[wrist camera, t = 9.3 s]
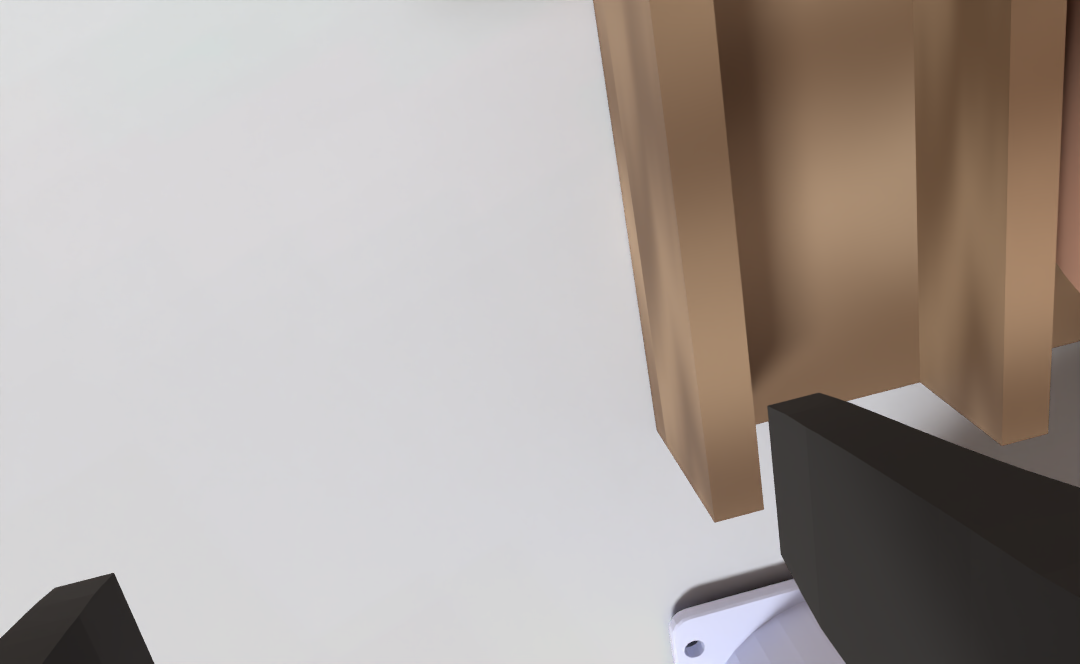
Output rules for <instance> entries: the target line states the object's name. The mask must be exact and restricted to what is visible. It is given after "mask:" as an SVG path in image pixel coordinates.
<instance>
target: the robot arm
mask: <svg viewBox="0 0 1080 664" xmlns="http://www.w3.org/2000/svg"><path fill="white" fill-rule="evenodd" d="M767 409H768V420H769V431H770V441H771V452H772V463H773V474H774V484H775V495H776V506H777V517H778V527H779V538H780V549H781V555H782V557H783V559H784V561H785V563H786V565H787V567H788V569H789V571H790V572H791V574H792V576H793V578H794V579H791V580H787V581H784V582H780V583H777V584H773V585H769V586H766V587H762V588H758V589H755V590H751V591H747V592H744V593H740V594H737V595H733V596H729V597H726V598H722V599H718V600H715V601H711V602H707V603H704V604H700V605H697V606H693V607H689V608H686V609H683V610H681V611H679V612H678V613H676V614H675V615H674V616H673V617H672V619H671V621H670V623H669V635H670V641H671V648H672V654H673V660H674V664H1080V488H1079V487H1076V486H1072V485H1069V484H1066V483H1063V482H1060V481H1057V480H1054V479H1051V478H1048V477H1045V476H1042V475H1039V474H1036V473H1033V472H1030V471H1027V470H1024V469H1021V468H1018V467H1015V466H1012V465H1010V464H1007V463H1004V462H1001V461H998V460H996V459H993V458H990V457H987V456H985V455H982V454H979V453H977V452H974V451H971V450H969V449H966V448H963V447H961V446H958V445H956V444H953V443H950V442H948V441H945V440H943V439H940V438H937V437H935V436H932V435H930V434H927V433H925V432H922V431H920V430H917V429H915V428H912V427H910V426H907V425H905V424H902V423H900V422H897V421H895V420H892V419H890V418H887V417H885V416H882V415H880V414H877V413H875V412H872V411H870V410H867V409H864V408H862V407H859V406H857V405H854V404H851V403H849V402H846V401H843V400H841V399H838V398H835V397H832V396H829V395H825V394H822V393H815V394H811V395H807V396H803V397H799V398H795V399H791V400H788V401H784V402H780V403H776V404H772V405H768V406H767ZM697 640H698V642H697V643H696V644H695V645H693V646H691V647H686V646H687V644H688V643H690V642H692V641H697ZM0 664H154V662H153V660H152V657H151V655H150V653H149V651H148V648H147V646H146V644H145V642H144V639H143V637H142V635H141V633H140V630H139V628H138V626H137V624H136V621H135V619H134V617H133V615H132V613H131V610H130V608H129V606H128V604H127V601H126V599H125V597H124V595H123V592H122V590H121V588H120V586H119V583H118V581H117V579H116V577H115V574H114V573H111V574H107V575H103V576H99V577H96V578H92V579H88V580H84V581H80V582H76V583H72V584H68V585H64V586H60V587H56V588H54V589H53V590H52V591H50V592H49V593H48V594H47V595H46V596H45V597H43V598H42V599H41V600H40V601H39V602H38V603H37V604H35V605H34V606H33V607H32V608H31V609H30V610H29V611H28V612H27V613H26V614H25V615H24V616H23V617H22V618H21V619H20V620H19V621H18V622H17V623H16V624H15V625H14V626H13V627H11V628H10V629H9V630H8V631H7V632H6V633H5V634H4V635H3V636H2V637H1V638H0Z"/></svg>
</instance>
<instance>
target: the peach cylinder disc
mask: <svg viewBox="0 0 1080 664" xmlns="http://www.w3.org/2000/svg"><path fill="white" fill-rule="evenodd" d="M1056 263H1057V265H1058V266H1059V268H1060V269H1061V270H1062V272H1063V273H1064V275H1065V276H1066V277H1067V278H1068V280H1069V281H1070V282H1071V283H1072V284H1073V286H1074V287H1075V288H1076V289H1077V290H1078V291H1079V293H1080V0H1067V12H1066V35H1065V58H1064V81H1063V104H1062V127H1061V150H1060V172H1059V195H1058V218H1057V241H1056Z"/></svg>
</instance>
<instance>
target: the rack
mask: <svg viewBox="0 0 1080 664" xmlns="http://www.w3.org/2000/svg"><path fill="white" fill-rule="evenodd" d="M593 3H594V10H595V16H596V23H597V30H598V37H599V43H600V50H601V57H602V64H603V70H604V77H605V84H606V91H607V97H608V104H609V111H610V118H611V124H612V131H613V138H614V145H615V151H616V158H617V165H618V172H619V178H620V185H621V192H622V199H623V205H624V212H625V219H626V226H627V232H628V239H629V246H630V253H631V259H632V266H633V273H634V280H635V286H636V293H637V300H638V307H639V313H640V320H641V327H642V334H643V340H644V347H645V354H646V361H647V367H648V374H649V381H650V388H651V394H652V401H653V408H654V415H655V421H656V428H657V431H658V433H659V435H660V436H661V438H662V439H663V441H664V443H665V444H666V446H667V447H668V449H669V450H670V452H671V454H672V455H673V457H674V458H675V460H676V462H677V463H678V465H679V466H680V468H681V470H682V471H683V473H684V474H685V476H686V478H687V479H688V481H689V482H690V484H691V485H692V487H693V489H694V490H695V492H696V493H697V495H698V497H699V498H700V500H701V501H702V503H703V505H704V506H705V508H706V509H707V511H708V513H709V514H710V516H711V517H712V519H713V521H714V522H719V521H722V520H726V519H730V518H734V517H737V516H741V515H745V514H749V513H752V512H756V511H760V510H764V505H763V495H762V485H761V475H760V465H759V455H758V445H757V435H756V424H760V423H764V422H767V421H769V420H768V409H767V406H768V405H772V404H776V403H780V402H784V401H788V400H791V399H795V398H799V397H803V396H807V395H811V394H815V393H822V394H825V395H829V396H832V397H835V398H838V399H841V400H843V401H849V400H853V399H857V398H861V397H865V396H868V395H872V394H876V393H880V392H884V391H888V390H892V389H896V388H899V387H903V386H907V385H911V384H915V383H919V382H920V383H922V384H923V385H924V386H926V387H927V388H928V389H929V390H931V391H932V392H933V393H935V394H936V395H937V396H938V397H940V398H941V399H942V400H944V401H945V402H946V403H947V404H949V405H950V406H951V407H953V408H954V409H955V410H956V411H958V412H959V413H960V414H962V415H963V416H964V417H965V418H967V419H968V420H969V421H971V422H972V423H973V424H974V425H976V426H977V427H978V428H980V429H981V430H982V431H983V432H985V433H986V434H987V435H989V436H990V437H991V438H992V439H994V440H995V441H996V442H998V443H999V444H1000V445H1001V446H1004V445H1007V444H1011V443H1015V442H1018V441H1022V440H1026V439H1030V438H1033V437H1037V436H1041V435H1045V434H1048V424H1049V401H1050V378H1051V356H1052V348H1055V347H1059V346H1063V345H1066V344H1070V343H1074V342H1078V341H1080V293H1079V291H1078V290H1077V289H1076V288H1075V287H1074V286H1073V284H1072V283H1071V282H1070V281H1069V280H1068V278H1067V277H1066V276H1065V275H1064V273H1063V272H1062V270H1061V269H1060V268H1059V266H1058V265H1057V263H1056V241H1057V218H1058V195H1059V172H1060V150H1061V127H1062V104H1063V81H1064V58H1065V35H1066V12H1067V0H593Z"/></svg>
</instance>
